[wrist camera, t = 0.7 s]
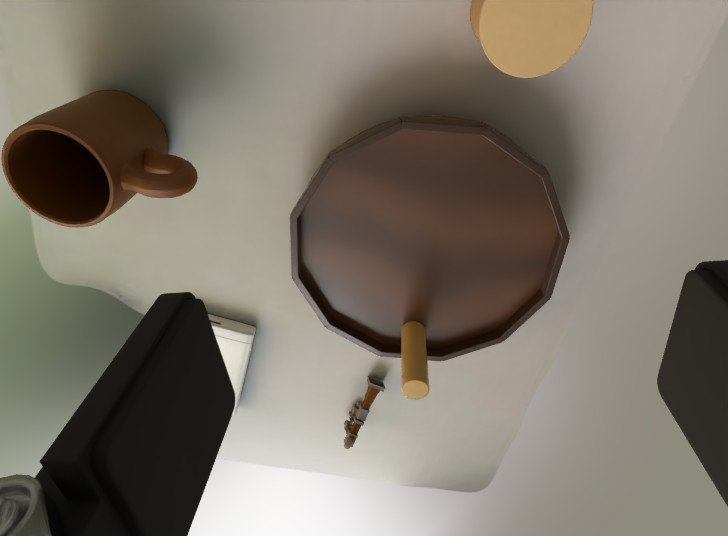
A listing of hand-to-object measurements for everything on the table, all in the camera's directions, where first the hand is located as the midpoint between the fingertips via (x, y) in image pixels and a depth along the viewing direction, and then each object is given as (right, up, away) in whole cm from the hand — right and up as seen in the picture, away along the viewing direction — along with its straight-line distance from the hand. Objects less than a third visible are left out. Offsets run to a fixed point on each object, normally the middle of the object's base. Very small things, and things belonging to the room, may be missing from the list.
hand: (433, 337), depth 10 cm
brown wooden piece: (-1, -13, +45) cm, 47 cm away
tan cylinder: (+9, +19, +24) cm, 32 cm away
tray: (+4, +3, +32) cm, 32 cm away
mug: (-19, +12, +30) cm, 38 cm away
